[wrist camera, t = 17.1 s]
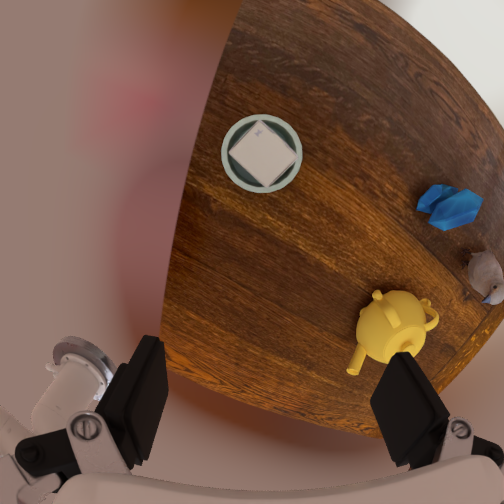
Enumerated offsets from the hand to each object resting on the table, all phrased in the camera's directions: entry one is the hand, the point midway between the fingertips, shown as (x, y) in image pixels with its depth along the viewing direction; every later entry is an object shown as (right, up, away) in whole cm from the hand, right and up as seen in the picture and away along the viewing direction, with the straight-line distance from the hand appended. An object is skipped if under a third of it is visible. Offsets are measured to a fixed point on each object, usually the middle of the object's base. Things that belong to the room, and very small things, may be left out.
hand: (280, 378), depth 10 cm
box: (0, +18, +26) cm, 31 cm away
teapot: (+22, -7, +35) cm, 42 cm away
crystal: (+29, +14, +28) cm, 42 cm away
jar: (0, +18, +26) cm, 32 cm away
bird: (+39, +4, +31) cm, 50 cm away
